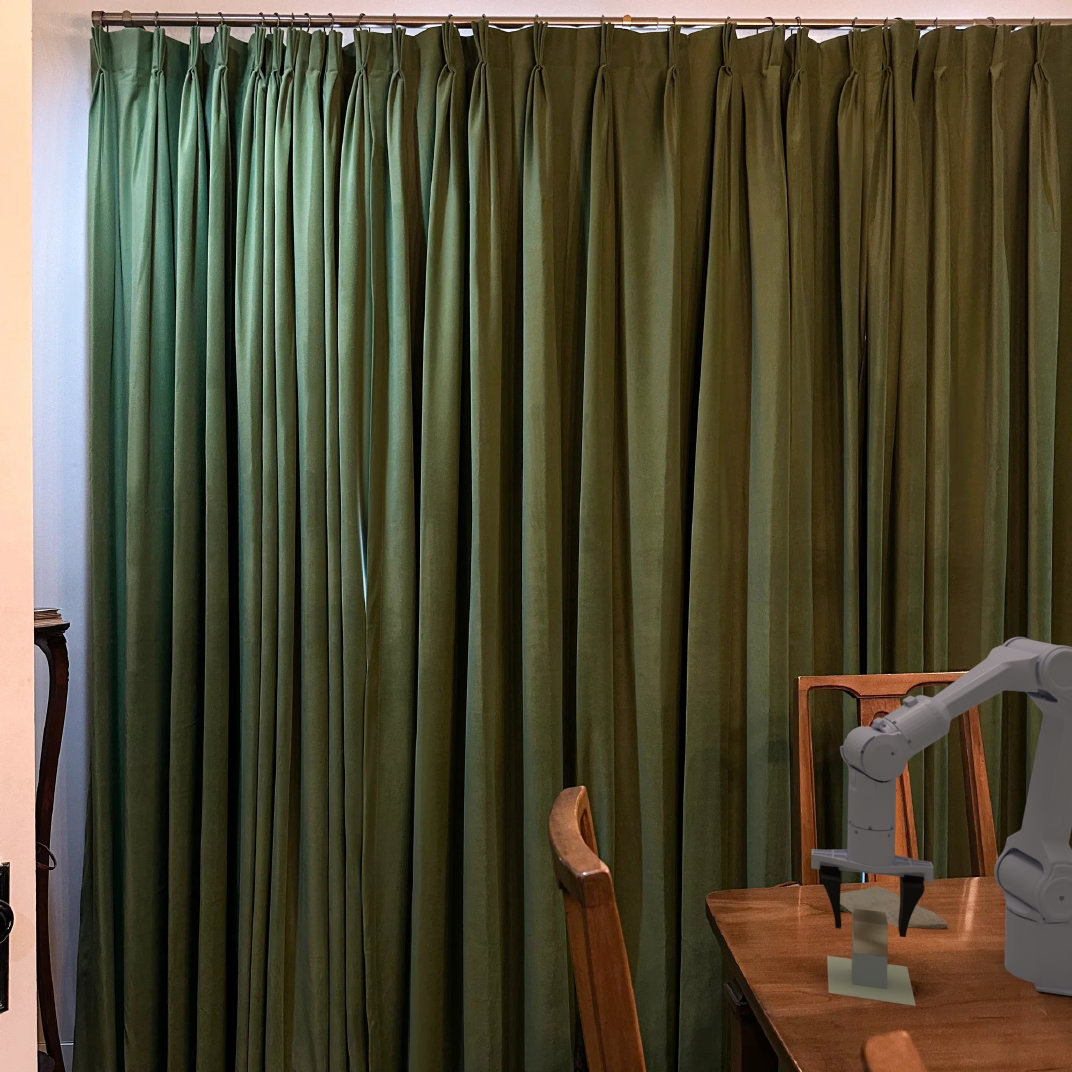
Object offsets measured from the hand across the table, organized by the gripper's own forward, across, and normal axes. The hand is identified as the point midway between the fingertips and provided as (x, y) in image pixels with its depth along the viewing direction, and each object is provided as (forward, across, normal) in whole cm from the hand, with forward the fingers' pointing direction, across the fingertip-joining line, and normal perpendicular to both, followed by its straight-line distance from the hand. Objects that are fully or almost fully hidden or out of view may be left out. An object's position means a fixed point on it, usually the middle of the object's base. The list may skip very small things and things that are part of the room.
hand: (869, 929), depth 116 cm
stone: (+8, -4, -23) cm, 25 cm away
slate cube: (+6, 0, 0) cm, 6 cm away
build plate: (+7, 0, 0) cm, 7 cm away
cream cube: (+2, 0, 0) cm, 2 cm away
